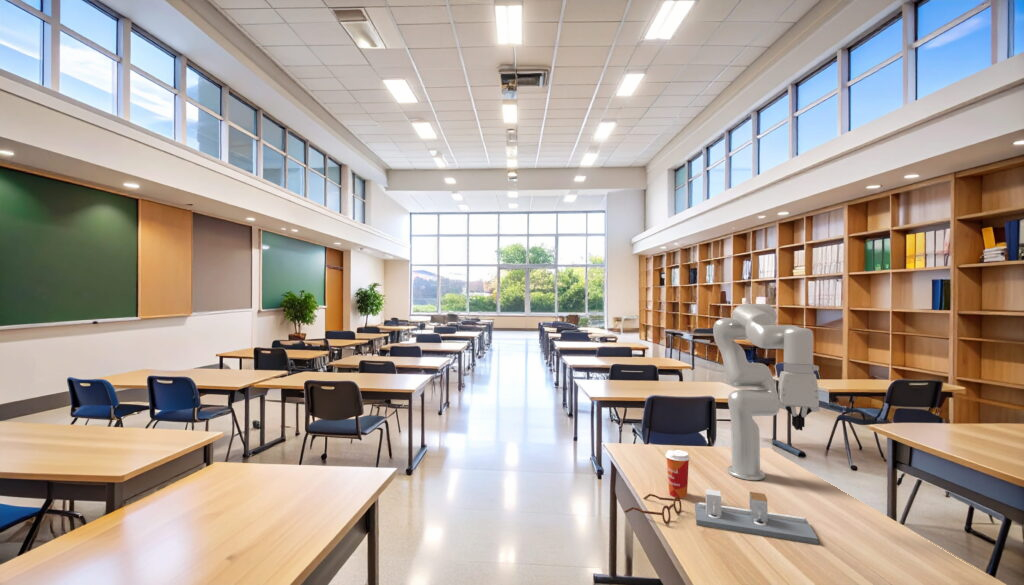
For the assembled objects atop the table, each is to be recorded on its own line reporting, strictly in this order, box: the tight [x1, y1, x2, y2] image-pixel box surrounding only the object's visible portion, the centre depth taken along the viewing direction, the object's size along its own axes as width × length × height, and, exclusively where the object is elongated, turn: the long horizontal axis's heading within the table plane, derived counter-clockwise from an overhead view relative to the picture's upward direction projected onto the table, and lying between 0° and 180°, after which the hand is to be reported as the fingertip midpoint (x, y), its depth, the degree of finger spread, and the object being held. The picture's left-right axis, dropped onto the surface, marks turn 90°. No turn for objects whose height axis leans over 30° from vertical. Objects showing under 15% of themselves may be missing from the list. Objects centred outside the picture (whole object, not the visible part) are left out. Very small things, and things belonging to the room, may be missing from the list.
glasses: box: [624, 493, 682, 524], centre depth 137 cm, size 13×13×5 cm
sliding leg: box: [749, 491, 768, 523], centre depth 128 cm, size 5×4×7 cm
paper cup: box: [665, 449, 691, 499], centre depth 149 cm, size 8×8×14 cm
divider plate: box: [694, 488, 819, 545], centre depth 129 cm, size 12×30×8 cm, turn 69°
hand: (798, 428), depth 134 cm, fingers closed
